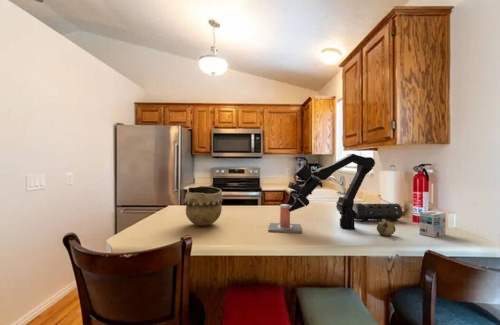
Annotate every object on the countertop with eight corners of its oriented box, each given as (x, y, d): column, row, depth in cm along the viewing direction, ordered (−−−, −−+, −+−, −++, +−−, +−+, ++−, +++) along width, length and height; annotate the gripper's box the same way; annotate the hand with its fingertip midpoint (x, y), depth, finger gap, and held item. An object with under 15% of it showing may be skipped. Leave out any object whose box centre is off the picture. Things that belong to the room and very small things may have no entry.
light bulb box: (433, 237, 123) (433, 214, 123) (418, 234, 129) (418, 211, 129) (446, 235, 128) (446, 212, 128) (431, 231, 134) (431, 210, 134)
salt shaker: (291, 226, 136) (291, 204, 136) (287, 228, 132) (287, 206, 132) (282, 224, 139) (282, 203, 139) (278, 227, 135) (278, 205, 134)
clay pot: (231, 227, 138) (231, 188, 137) (192, 233, 126) (192, 191, 125) (213, 219, 155) (213, 184, 155) (177, 223, 143) (177, 186, 143)
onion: (396, 238, 121) (397, 220, 121) (377, 236, 124) (377, 219, 124) (394, 234, 128) (394, 217, 128) (375, 232, 131) (376, 216, 131)
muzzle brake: (402, 222, 153) (402, 204, 152) (355, 222, 150) (355, 204, 150) (392, 218, 162) (392, 201, 162) (348, 219, 160) (348, 201, 160)
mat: (299, 225, 141) (299, 223, 141) (301, 233, 128) (301, 231, 128) (269, 224, 143) (269, 222, 143) (268, 231, 130) (268, 229, 130)
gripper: (292, 175, 145) (272, 195, 144) (302, 177, 126) (280, 201, 125) (306, 189, 146) (286, 209, 145) (318, 194, 127) (296, 217, 126)
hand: (287, 209), depth 135 cm, fingers open, 9 cm apart
